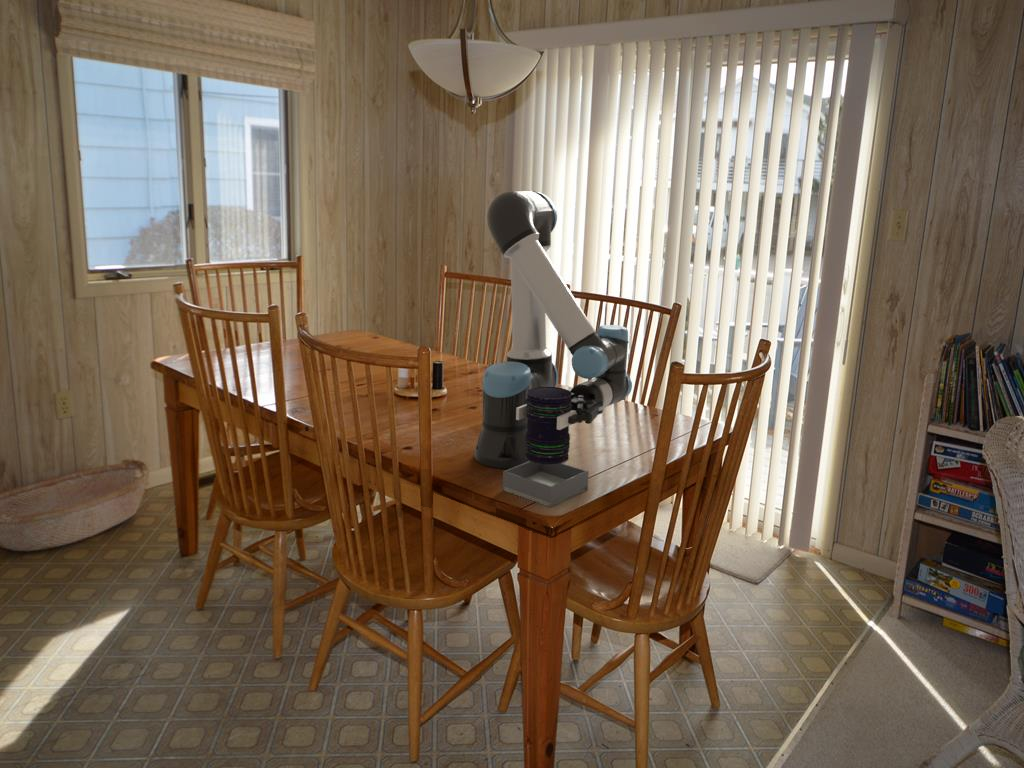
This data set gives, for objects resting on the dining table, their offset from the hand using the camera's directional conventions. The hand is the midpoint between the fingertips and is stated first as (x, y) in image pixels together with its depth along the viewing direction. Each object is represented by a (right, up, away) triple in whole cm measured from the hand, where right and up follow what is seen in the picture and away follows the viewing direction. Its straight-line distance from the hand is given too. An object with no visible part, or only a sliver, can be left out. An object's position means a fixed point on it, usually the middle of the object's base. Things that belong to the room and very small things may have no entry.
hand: (537, 418), depth 168 cm
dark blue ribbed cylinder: (+2, -9, +6) cm, 11 cm away
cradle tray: (+2, -16, +8) cm, 18 cm away
